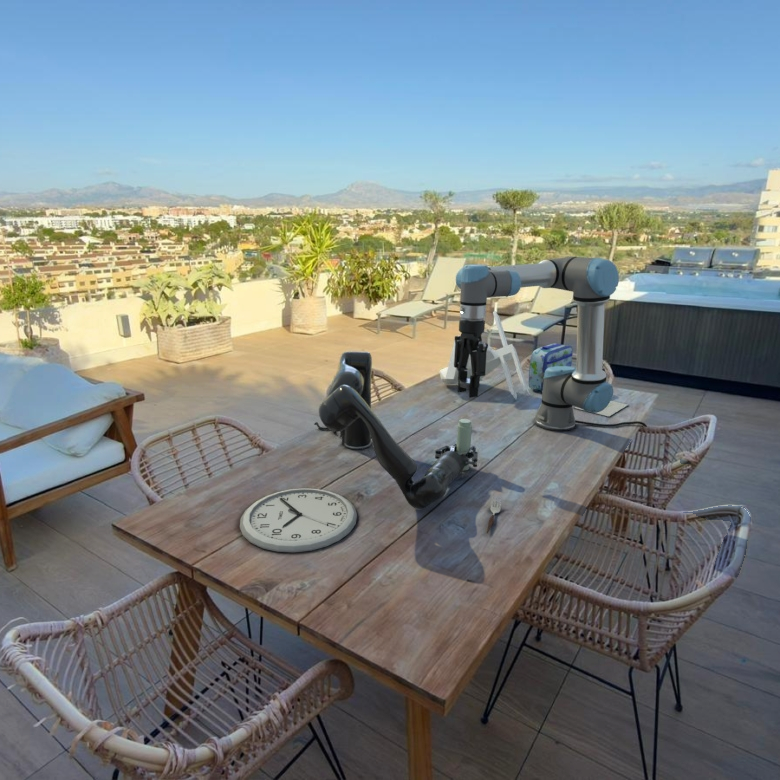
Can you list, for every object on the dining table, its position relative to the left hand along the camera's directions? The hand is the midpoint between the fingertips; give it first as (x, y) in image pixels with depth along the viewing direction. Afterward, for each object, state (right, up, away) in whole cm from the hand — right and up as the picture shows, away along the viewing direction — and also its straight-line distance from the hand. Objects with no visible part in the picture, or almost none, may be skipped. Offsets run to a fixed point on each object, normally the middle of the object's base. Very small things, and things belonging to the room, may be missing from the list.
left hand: (465, 447), depth 167 cm
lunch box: (+52, +19, +85) cm, 101 cm away
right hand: (-1, +17, -7) cm, 18 cm away
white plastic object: (+17, +17, +76) cm, 80 cm away
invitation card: (+67, +11, +59) cm, 90 cm away
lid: (-1, +21, -8) cm, 22 cm away
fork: (+3, -16, -30) cm, 34 cm away
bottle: (-1, -6, -1) cm, 7 cm away
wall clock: (-48, -15, -31) cm, 59 cm away
